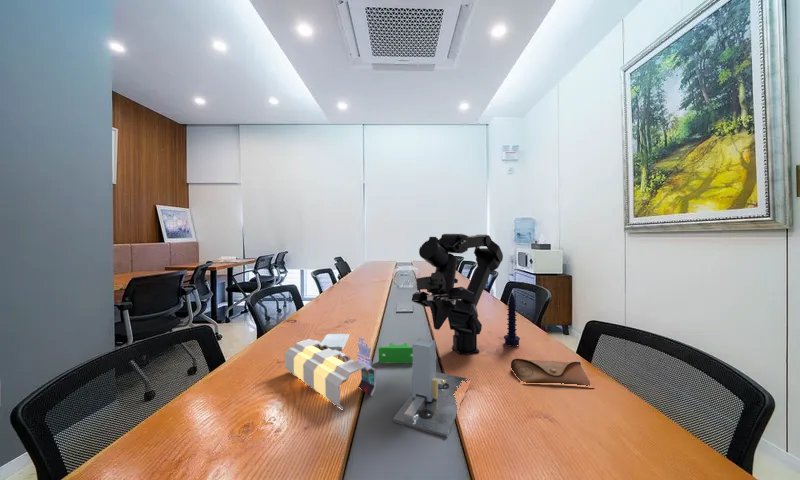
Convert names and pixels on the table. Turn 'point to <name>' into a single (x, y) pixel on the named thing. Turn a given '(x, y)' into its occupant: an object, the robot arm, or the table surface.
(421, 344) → the gray rectangular block
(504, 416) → the table surface
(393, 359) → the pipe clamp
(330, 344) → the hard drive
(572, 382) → the sunglasses case
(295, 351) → the diorama
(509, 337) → the screw
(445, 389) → the flange plate
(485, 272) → the robot arm
